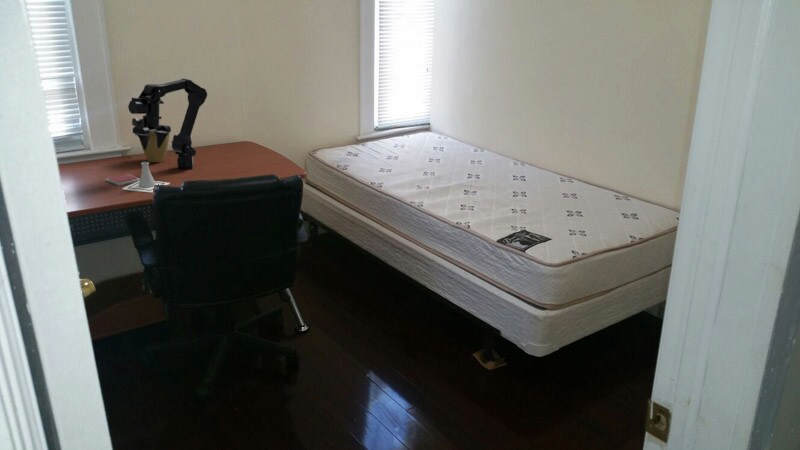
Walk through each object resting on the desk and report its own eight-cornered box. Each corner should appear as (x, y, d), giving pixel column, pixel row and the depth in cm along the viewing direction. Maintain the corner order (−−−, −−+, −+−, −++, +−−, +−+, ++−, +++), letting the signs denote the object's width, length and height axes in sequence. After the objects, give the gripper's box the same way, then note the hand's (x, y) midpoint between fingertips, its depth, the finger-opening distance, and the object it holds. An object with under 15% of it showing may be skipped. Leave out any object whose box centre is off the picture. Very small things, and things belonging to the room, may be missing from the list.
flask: (158, 186, 276) (156, 163, 273) (141, 188, 272) (138, 166, 269) (153, 182, 282) (150, 159, 278) (136, 184, 277) (133, 162, 274)
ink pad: (127, 176, 289) (127, 173, 289) (139, 181, 284) (139, 177, 283) (106, 180, 282) (105, 177, 281) (118, 185, 276) (117, 182, 276)
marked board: (141, 180, 284) (141, 179, 284) (170, 183, 282) (170, 182, 281) (122, 189, 272) (121, 188, 271) (151, 192, 269) (151, 191, 269)
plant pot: (163, 165, 308) (159, 132, 302) (134, 163, 310) (130, 130, 304) (178, 158, 321) (175, 126, 316) (150, 155, 324) (147, 124, 318)
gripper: (151, 110, 294) (151, 144, 298) (122, 112, 277) (122, 148, 281) (171, 113, 291) (171, 147, 295) (143, 115, 274) (143, 151, 278)
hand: (151, 148), depth 287 cm, fingers open, 9 cm apart
